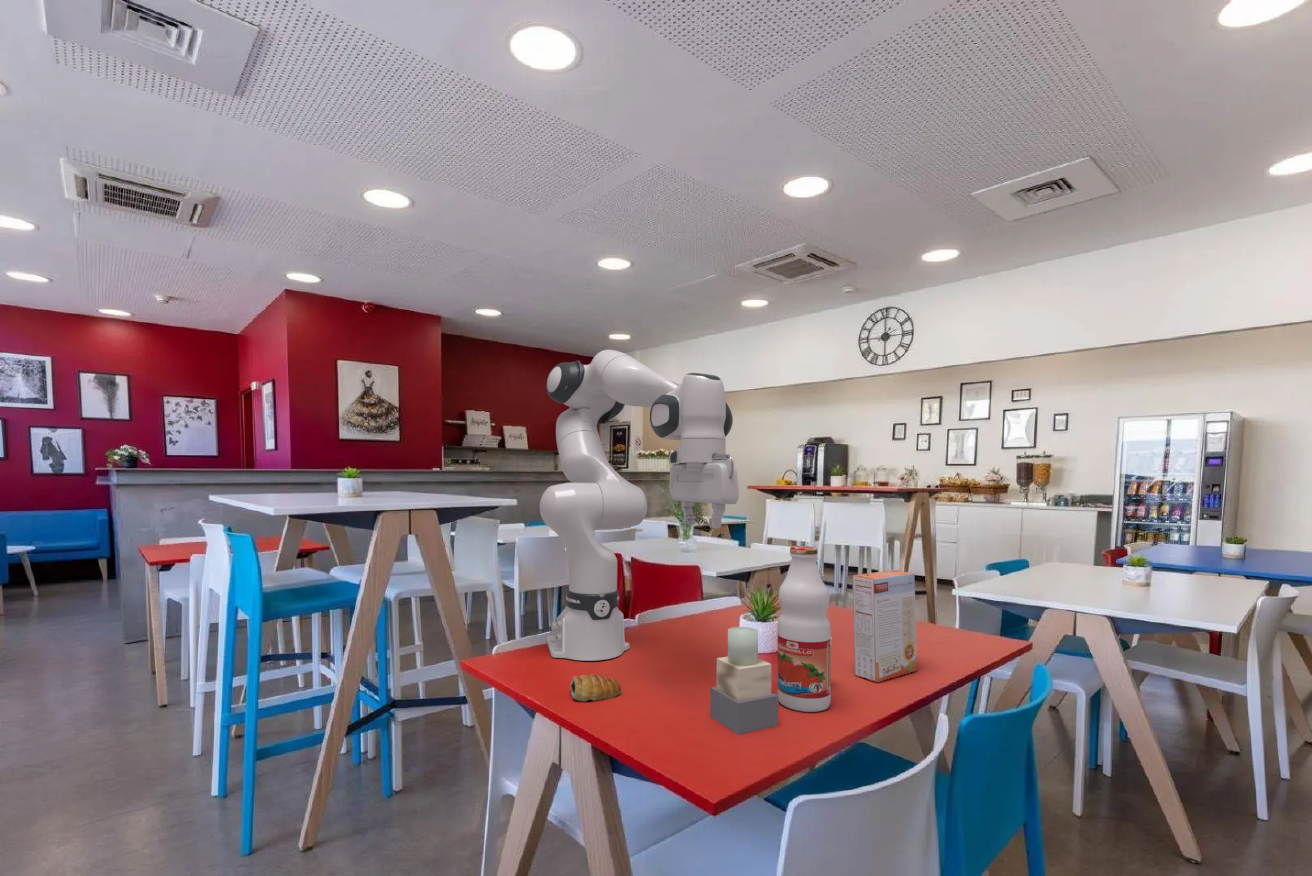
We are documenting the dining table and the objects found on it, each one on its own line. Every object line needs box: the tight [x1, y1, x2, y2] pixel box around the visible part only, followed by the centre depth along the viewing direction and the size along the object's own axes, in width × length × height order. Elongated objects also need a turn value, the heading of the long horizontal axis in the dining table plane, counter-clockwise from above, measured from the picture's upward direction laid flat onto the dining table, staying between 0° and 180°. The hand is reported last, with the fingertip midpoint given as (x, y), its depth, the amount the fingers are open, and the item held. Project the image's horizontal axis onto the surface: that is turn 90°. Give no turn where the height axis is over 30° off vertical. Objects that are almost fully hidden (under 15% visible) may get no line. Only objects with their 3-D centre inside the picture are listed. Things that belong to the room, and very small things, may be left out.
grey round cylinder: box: [727, 626, 759, 665], centre depth 101 cm, size 5×5×5 cm
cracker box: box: [852, 569, 918, 683], centre depth 126 cm, size 14×6×21 cm, turn 123°
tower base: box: [709, 685, 779, 735], centre depth 100 cm, size 8×8×5 cm
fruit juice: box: [776, 545, 832, 713], centre depth 109 cm, size 9×9×28 cm
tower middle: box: [716, 656, 772, 701], centre depth 100 cm, size 6×6×5 cm
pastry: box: [570, 673, 622, 703], centre depth 111 cm, size 9×7×4 cm
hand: (702, 526), depth 116 cm, fingers open, 8 cm apart
